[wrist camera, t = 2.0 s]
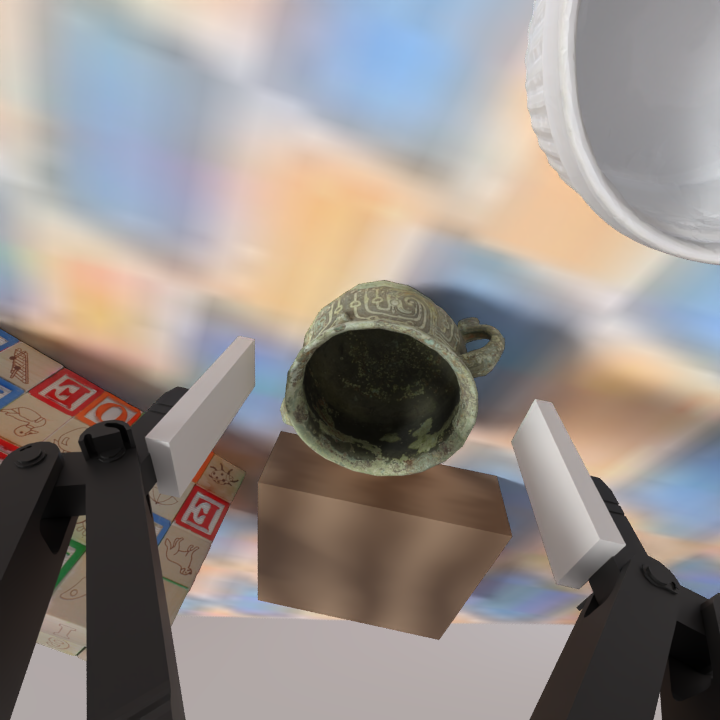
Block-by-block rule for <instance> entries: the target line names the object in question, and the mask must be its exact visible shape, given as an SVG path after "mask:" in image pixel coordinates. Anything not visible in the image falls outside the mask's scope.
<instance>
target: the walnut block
mask: <svg viewBox="0 0 720 720" xmlns="http://www.w3.org/2000/svg"><path fill="white" fill-rule="evenodd" d="M511 538H512V533H511V529H510V526H509V522H508V518H507V514H506V510H505V506H504V502H503V498H502V494H501V491H500V487H499V483H498V479H497V476H494V475H489V474H484V473H479V472H475V471H470V470H465V469H460V468H455V467H451V466H446V465H441V464H438V465H436V466H434V467H432V468H430V469H428V470H426V471H423V472H420V473H416V474H411V475H403V476H374V475H370V474H365V473H361V472H356V471H352V470H350V469H347V468H345V467H343V466H341V465H338V464H336V463H334V462H332V461H329V460H327V459H325V458H324V457H322V456H321V455H319V454H318V453H316V452H315V451H314V450H312V449H311V448H310V447H309V446H308V445H307V444H306V443H305V442H304V441H303V440H302V439H301V438H300V436H299V435H297V434H292V433H287V432H283V431H281V432H280V435H279V437H278V439H277V441H276V443H275V446H274V448H273V450H272V452H271V454H270V457H269V459H268V461H267V463H266V465H265V468H264V470H263V472H262V474H261V476H260V479H259V481H258V600H260V601H265V602H269V603H274V604H278V605H283V606H287V607H292V608H297V609H301V610H306V611H310V612H315V613H319V614H324V615H328V616H333V617H337V618H342V619H347V620H351V621H356V622H360V623H365V624H369V625H374V626H378V627H383V628H388V629H392V630H397V631H401V632H406V633H410V634H415V635H419V636H424V637H429V638H433V639H438V640H439V639H440V638H441V636H442V635H443V634H444V632H445V631H446V629H447V628H448V627H449V625H450V624H451V622H452V621H453V620H454V618H455V617H456V615H457V614H458V612H459V611H460V610H461V608H462V607H463V605H464V604H465V603H466V601H467V600H468V598H469V597H470V596H471V594H472V593H473V591H474V590H475V588H476V587H477V586H478V584H479V583H480V581H481V580H482V579H483V577H484V576H485V574H486V573H487V572H488V570H489V569H490V567H491V566H492V564H493V563H494V562H495V560H496V559H497V557H498V556H499V555H500V553H501V552H502V550H503V549H504V548H505V546H506V545H507V543H508V542H509V540H510V539H511Z"/></svg>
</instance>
